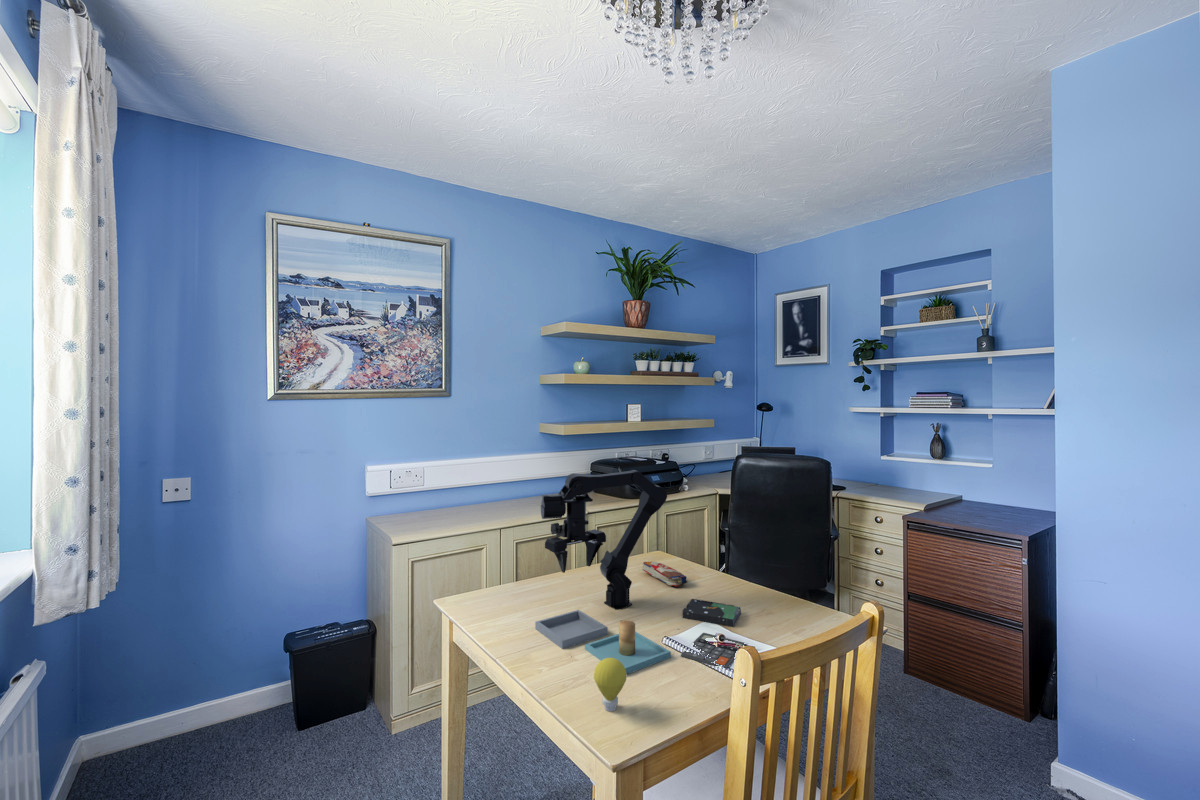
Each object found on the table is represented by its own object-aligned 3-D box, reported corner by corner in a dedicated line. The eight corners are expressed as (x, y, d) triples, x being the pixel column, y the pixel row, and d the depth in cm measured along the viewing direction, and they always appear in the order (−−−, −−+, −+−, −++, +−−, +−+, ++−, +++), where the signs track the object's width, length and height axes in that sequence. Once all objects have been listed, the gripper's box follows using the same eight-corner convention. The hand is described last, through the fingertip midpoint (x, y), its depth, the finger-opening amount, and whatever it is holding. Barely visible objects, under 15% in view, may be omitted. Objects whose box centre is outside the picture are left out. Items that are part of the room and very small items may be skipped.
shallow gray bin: (578, 617, 155) (578, 609, 155) (607, 635, 144) (607, 627, 144) (535, 630, 147) (535, 621, 147) (562, 650, 136) (562, 640, 136)
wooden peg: (628, 646, 137) (628, 618, 136) (638, 652, 133) (638, 624, 133) (615, 650, 134) (615, 622, 134) (625, 657, 131) (625, 629, 131)
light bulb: (592, 699, 114) (592, 652, 114) (624, 698, 115) (624, 651, 114) (595, 718, 107) (595, 668, 107) (628, 716, 108) (628, 667, 108)
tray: (631, 635, 144) (631, 629, 144) (670, 657, 132) (670, 651, 132) (585, 650, 136) (585, 644, 136) (621, 676, 123) (621, 669, 123)
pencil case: (668, 569, 198) (668, 556, 198) (690, 588, 179) (690, 573, 179) (639, 572, 195) (639, 558, 195) (659, 591, 176) (659, 576, 176)
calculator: (680, 654, 133) (703, 631, 145) (680, 658, 133) (703, 635, 145) (726, 667, 126) (746, 642, 139) (726, 671, 126) (746, 646, 139)
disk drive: (682, 620, 155) (734, 629, 149) (681, 610, 155) (734, 619, 149) (691, 607, 165) (741, 615, 158) (691, 598, 164) (741, 605, 158)
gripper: (585, 508, 173) (585, 556, 173) (534, 516, 161) (535, 568, 162) (607, 514, 164) (607, 565, 164) (555, 523, 153) (555, 578, 153)
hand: (576, 569), depth 161 cm, fingers open, 9 cm apart
